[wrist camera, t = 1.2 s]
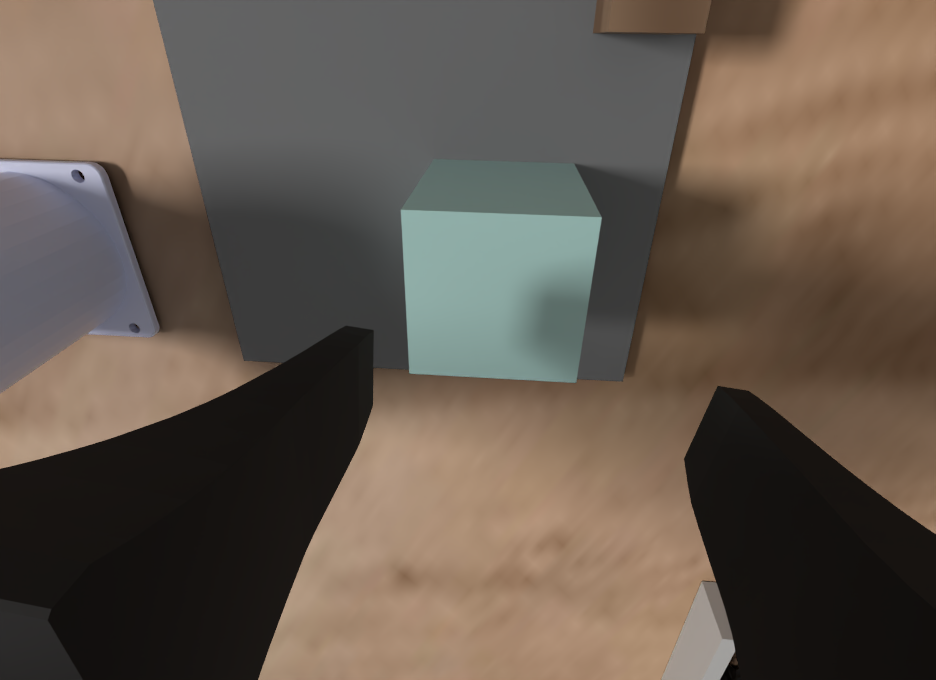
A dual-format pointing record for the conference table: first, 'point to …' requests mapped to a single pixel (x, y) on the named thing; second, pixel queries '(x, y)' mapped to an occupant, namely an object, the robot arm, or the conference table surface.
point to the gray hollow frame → (702, 639)
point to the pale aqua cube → (498, 269)
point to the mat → (409, 146)
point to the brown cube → (651, 16)
